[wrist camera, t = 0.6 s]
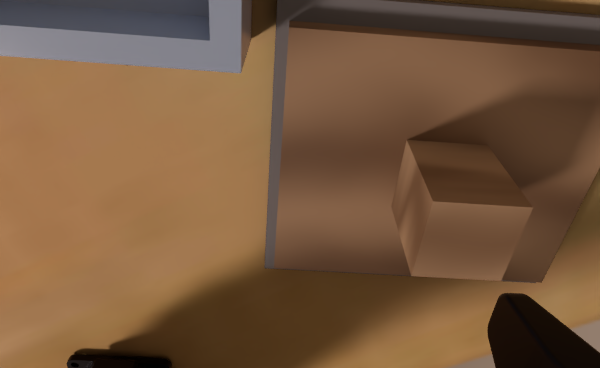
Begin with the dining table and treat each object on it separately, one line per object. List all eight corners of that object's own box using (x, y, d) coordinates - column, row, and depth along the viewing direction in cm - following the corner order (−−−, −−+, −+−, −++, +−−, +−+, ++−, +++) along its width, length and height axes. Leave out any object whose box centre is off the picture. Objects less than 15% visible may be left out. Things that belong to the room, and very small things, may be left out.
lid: (533, 269, 25) (586, 356, 20) (274, 254, 24) (269, 341, 20) (640, 48, 18) (755, 103, 14) (289, 20, 18) (286, 68, 13)
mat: (531, 275, 26) (535, 282, 25) (265, 260, 25) (264, 268, 25) (654, 19, 18) (664, 23, 18) (278, -12, 18) (277, -9, 17)
